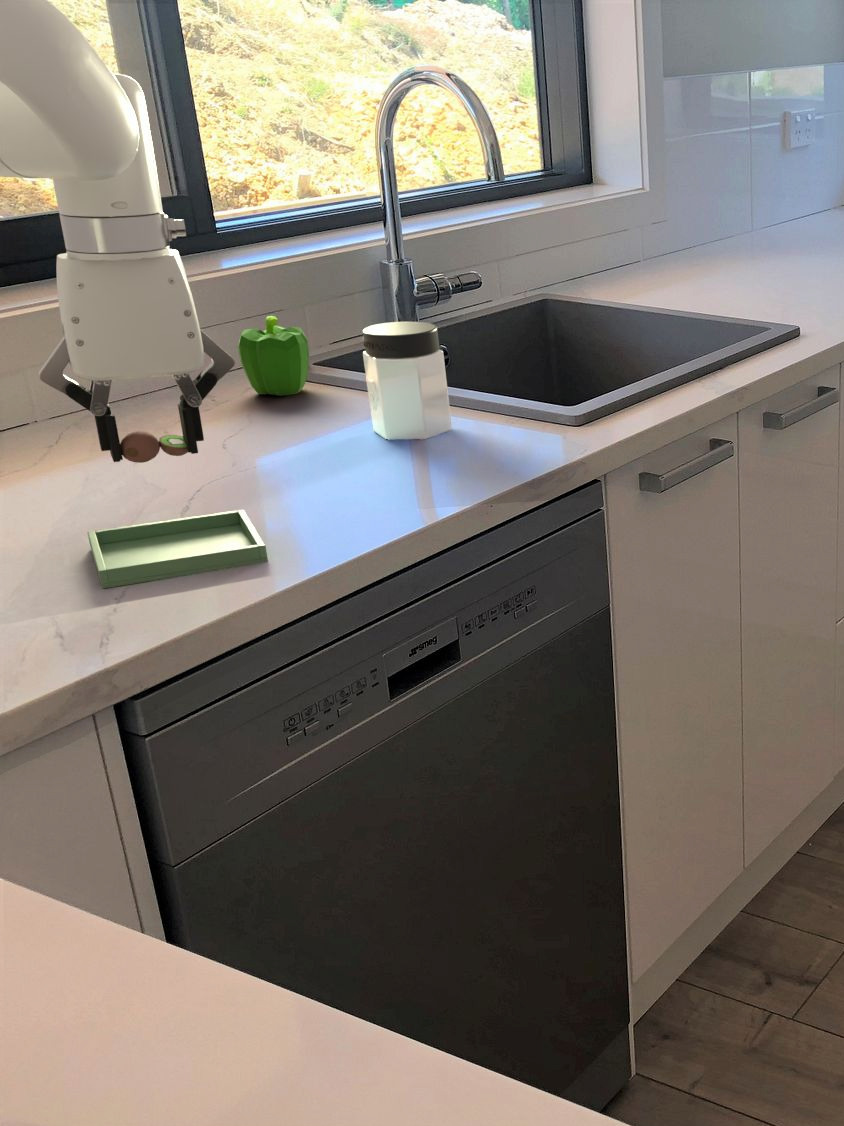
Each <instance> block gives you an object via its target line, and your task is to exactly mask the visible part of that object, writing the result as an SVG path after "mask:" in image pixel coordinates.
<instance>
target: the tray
mask: <svg viewBox="0 0 844 1126" xmlns="http://www.w3.org/2000/svg"><path fill="white" fill-rule="evenodd" d="M87 537H88V542H89V547H90V551H91V553H92V557H93V561H94V564H95V568H96V571H97V575H98V579H99V582H100V585H101V589H103V590H104V589H110V588H114V587H122V586H127V585H133V584H140V583H147V582H153V581H160V580H165V579H172V578H177V577H178V578H179V577H184V576H191V575H196V574H203V573H208V572H215V571H220V570H219V569H221V570H226V569H225V568H227V569H233V568H239V567H245V566H251V565H257V564H262V563H268V562H269V559H268V552H267V551H268V550H267V546H266V544H265V542H264V541H263V539H262V537H261V536H260V534H259V533H258V531H257V529H256V527H255V526H254V524H253V523H252V521H251V519H250V518H249V515H248V514H247V513H246V511H245V509H238V510H231V511H224V512H217V513H210V514H202V515H195V516H188V517H187V516H186V517H181V518H173V519H168V520H160V521H153V522H146V523H140V524H131V525H124V526H119V527H111V528H104V529H103V528H102V529H97V530H96V529H95V530H89V531H87ZM232 567H233V568H232Z"/></svg>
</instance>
